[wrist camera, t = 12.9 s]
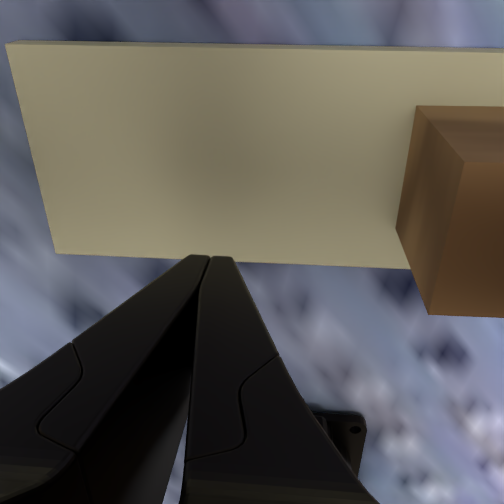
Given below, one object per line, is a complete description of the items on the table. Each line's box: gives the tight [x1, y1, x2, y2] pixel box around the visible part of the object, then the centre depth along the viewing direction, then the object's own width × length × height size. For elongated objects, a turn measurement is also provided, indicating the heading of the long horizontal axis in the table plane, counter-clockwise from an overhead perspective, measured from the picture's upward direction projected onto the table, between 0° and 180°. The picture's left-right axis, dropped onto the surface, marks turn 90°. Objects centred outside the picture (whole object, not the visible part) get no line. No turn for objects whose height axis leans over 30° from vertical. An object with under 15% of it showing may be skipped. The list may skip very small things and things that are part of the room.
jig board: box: [5, 40, 504, 269], centre depth 15 cm, size 7×26×1 cm, turn 90°
